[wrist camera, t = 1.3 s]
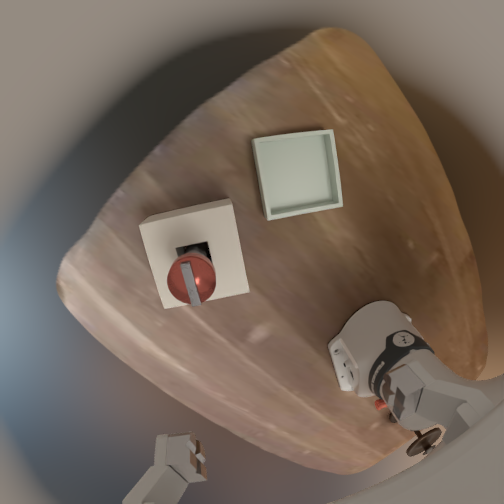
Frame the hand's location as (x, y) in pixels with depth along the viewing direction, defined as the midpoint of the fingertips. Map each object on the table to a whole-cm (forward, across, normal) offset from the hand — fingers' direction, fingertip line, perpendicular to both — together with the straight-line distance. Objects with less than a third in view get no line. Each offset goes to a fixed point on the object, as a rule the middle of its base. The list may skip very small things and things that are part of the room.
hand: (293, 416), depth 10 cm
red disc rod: (+34, +5, +2) cm, 34 cm away
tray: (+33, -11, -5) cm, 35 cm away
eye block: (+34, +5, +2) cm, 34 cm away
